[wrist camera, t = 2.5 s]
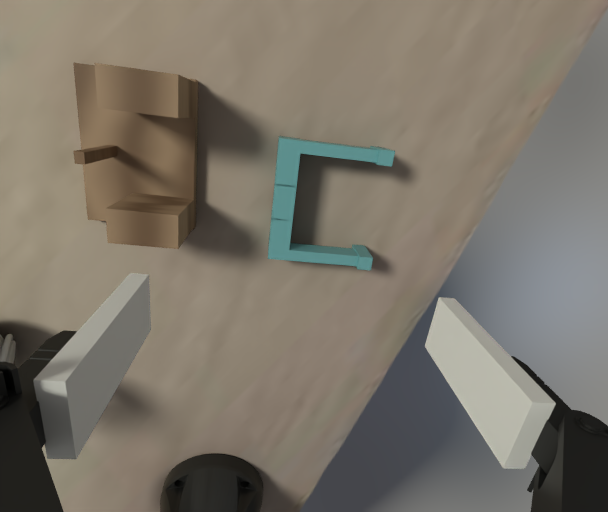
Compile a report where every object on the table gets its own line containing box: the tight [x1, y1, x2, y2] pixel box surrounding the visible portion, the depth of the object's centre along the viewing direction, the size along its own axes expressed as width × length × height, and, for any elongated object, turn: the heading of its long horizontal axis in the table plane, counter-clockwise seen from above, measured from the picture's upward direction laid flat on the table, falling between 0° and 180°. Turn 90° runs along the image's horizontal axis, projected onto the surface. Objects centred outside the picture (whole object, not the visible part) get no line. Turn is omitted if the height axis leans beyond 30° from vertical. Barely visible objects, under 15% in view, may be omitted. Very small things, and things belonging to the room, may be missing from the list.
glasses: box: [268, 136, 395, 270], centre depth 39 cm, size 11×13×4 cm
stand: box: [74, 63, 198, 249], centre depth 34 cm, size 11×15×8 cm
